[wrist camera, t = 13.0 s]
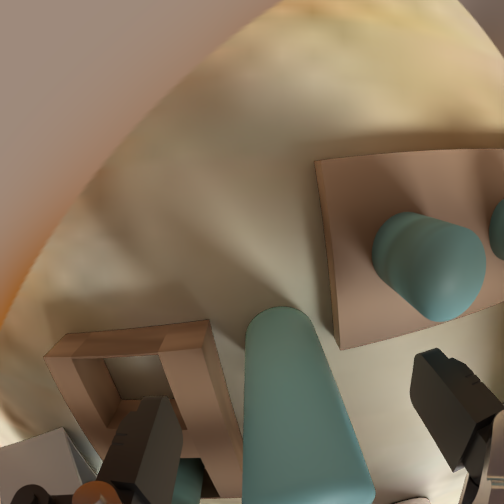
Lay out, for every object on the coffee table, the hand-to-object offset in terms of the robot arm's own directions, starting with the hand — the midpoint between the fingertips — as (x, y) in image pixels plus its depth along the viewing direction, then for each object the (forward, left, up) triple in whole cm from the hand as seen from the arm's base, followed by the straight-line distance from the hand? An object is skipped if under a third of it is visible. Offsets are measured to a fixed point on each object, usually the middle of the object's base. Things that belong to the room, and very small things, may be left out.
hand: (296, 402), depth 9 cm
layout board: (+3, -9, -5) cm, 11 cm away
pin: (-1, 0, -5) cm, 5 cm away
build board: (-5, +7, -5) cm, 10 cm away
